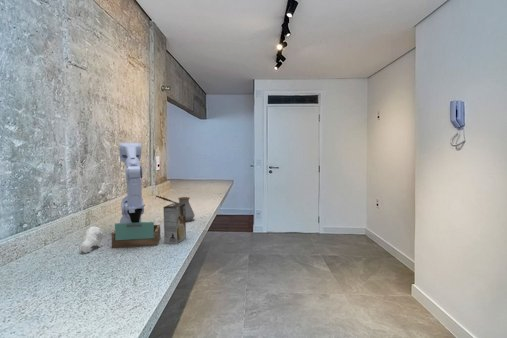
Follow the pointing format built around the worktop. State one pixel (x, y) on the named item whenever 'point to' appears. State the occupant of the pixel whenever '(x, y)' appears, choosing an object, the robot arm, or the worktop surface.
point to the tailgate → (134, 230)
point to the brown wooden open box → (137, 240)
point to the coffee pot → (188, 209)
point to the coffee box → (174, 223)
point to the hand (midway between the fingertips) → (135, 226)
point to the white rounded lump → (91, 239)
